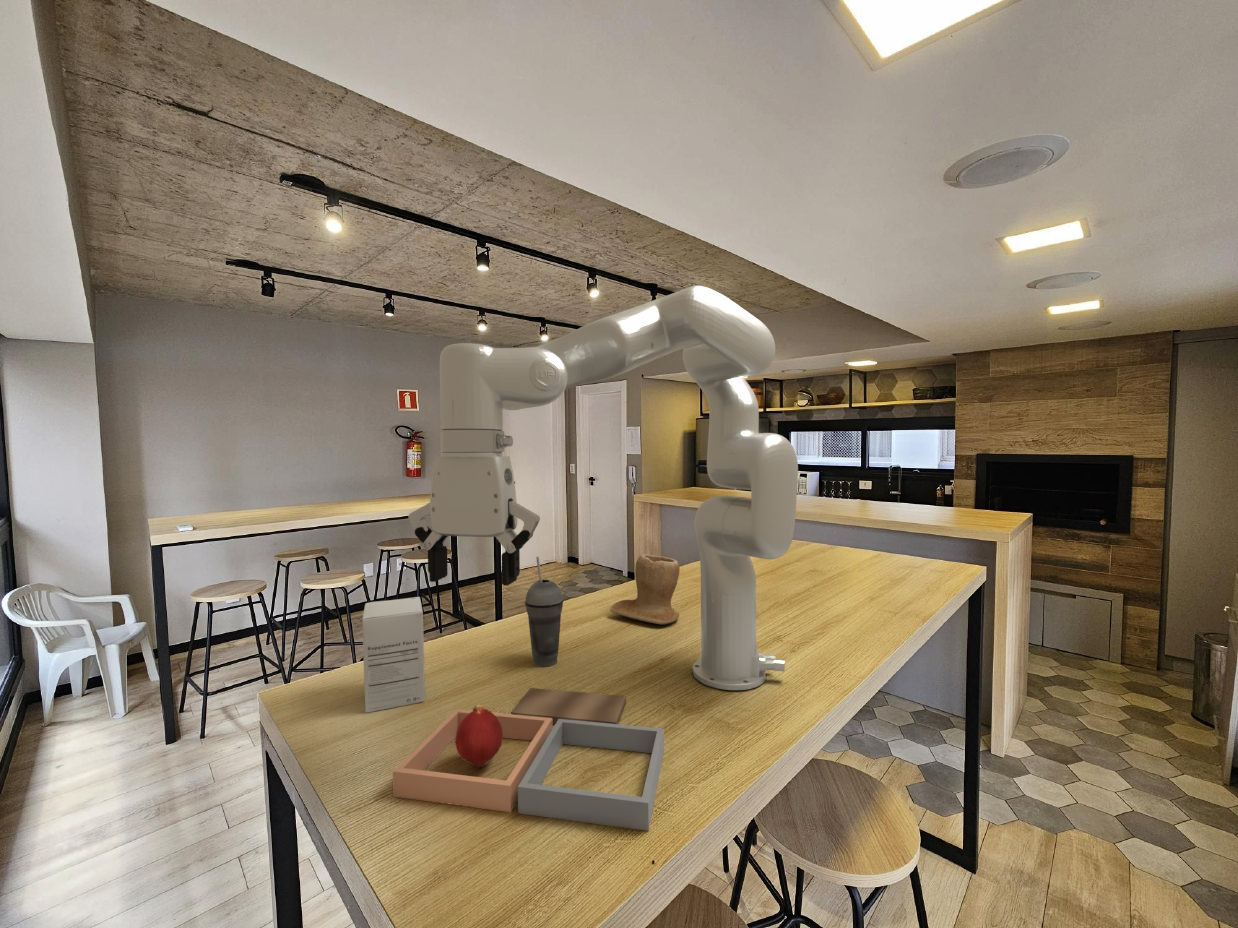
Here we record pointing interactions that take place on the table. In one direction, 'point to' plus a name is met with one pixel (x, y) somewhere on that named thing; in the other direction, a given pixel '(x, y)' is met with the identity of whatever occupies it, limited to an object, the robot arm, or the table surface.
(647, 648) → the table surface
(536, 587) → the beverage cup
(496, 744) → the onion
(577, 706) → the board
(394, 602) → the supplement box
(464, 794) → the terracotta crate
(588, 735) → the frame
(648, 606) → the brown boot-shaped piece
